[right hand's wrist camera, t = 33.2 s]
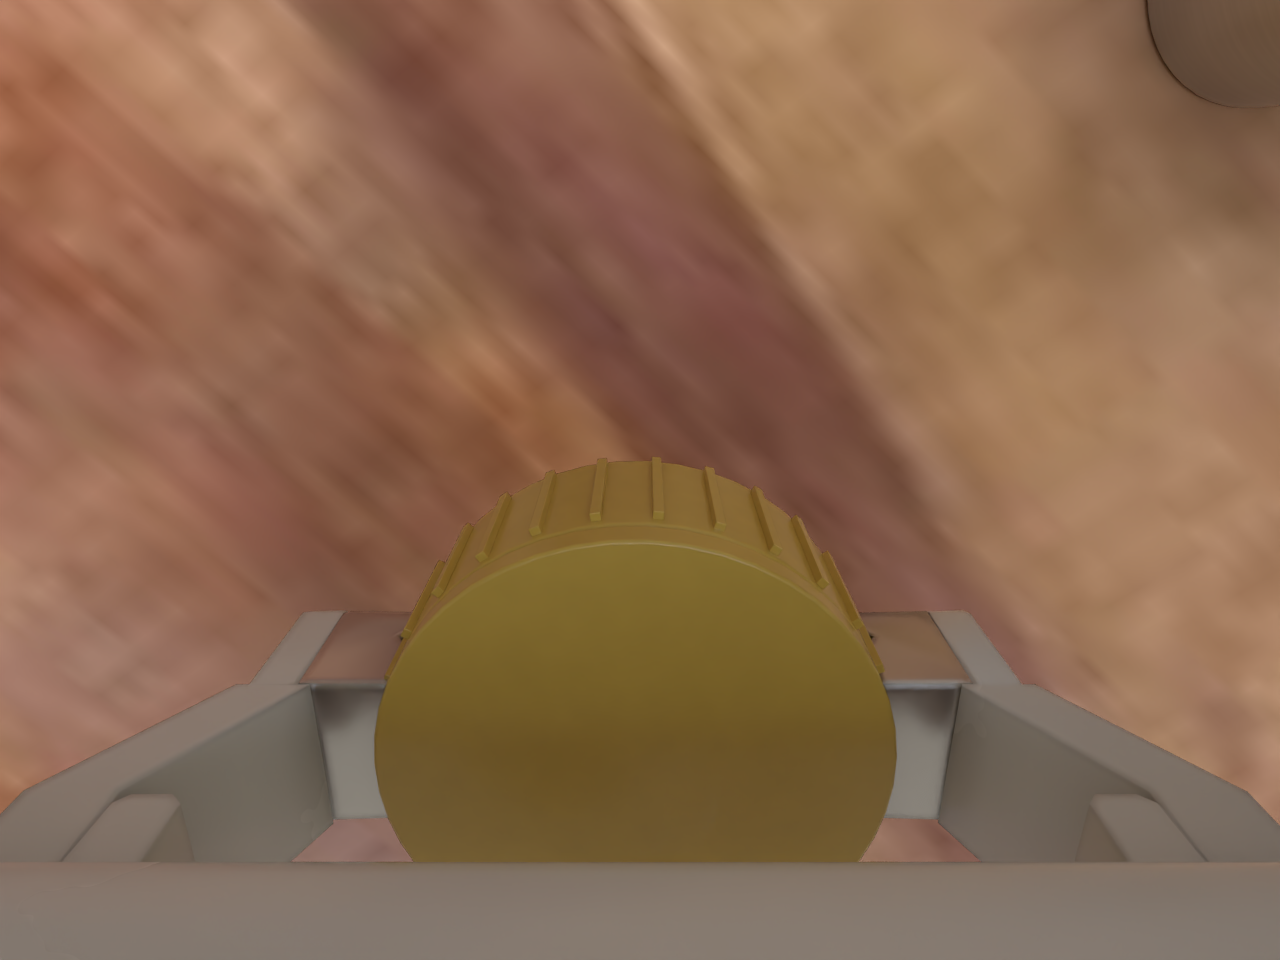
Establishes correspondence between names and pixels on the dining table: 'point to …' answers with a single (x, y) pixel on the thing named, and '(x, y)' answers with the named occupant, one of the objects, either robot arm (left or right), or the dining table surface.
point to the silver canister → (1221, 48)
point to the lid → (635, 683)
